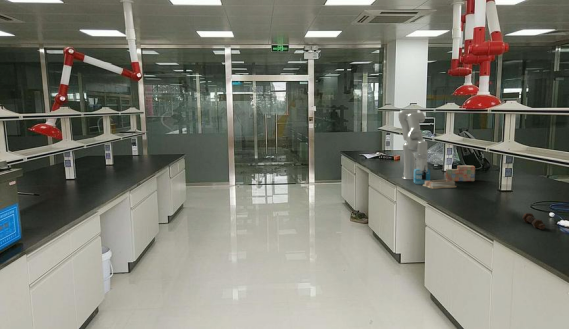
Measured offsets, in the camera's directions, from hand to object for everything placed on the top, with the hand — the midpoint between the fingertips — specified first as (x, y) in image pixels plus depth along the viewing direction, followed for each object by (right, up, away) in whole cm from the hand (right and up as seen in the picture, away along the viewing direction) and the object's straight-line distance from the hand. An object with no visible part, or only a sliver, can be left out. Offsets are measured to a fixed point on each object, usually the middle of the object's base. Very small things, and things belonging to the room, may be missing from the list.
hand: (421, 178), depth 328 cm
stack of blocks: (+35, -2, +11) cm, 37 cm away
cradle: (+10, -5, -12) cm, 16 cm away
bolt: (+17, -20, -120) cm, 123 cm away
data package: (0, -4, +1) cm, 4 cm away
